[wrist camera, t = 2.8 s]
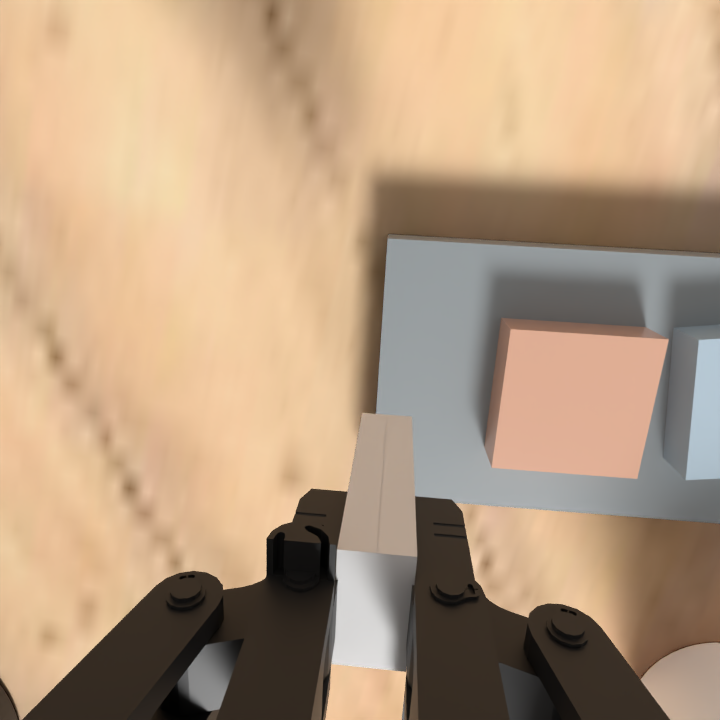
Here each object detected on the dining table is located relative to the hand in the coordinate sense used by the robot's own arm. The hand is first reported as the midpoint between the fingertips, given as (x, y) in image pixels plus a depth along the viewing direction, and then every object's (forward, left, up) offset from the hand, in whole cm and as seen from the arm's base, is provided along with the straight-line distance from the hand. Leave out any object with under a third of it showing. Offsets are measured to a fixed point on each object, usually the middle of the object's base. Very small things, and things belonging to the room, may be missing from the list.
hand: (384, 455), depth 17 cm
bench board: (+11, 0, -10) cm, 15 cm away
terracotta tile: (+8, 0, -8) cm, 11 cm away
